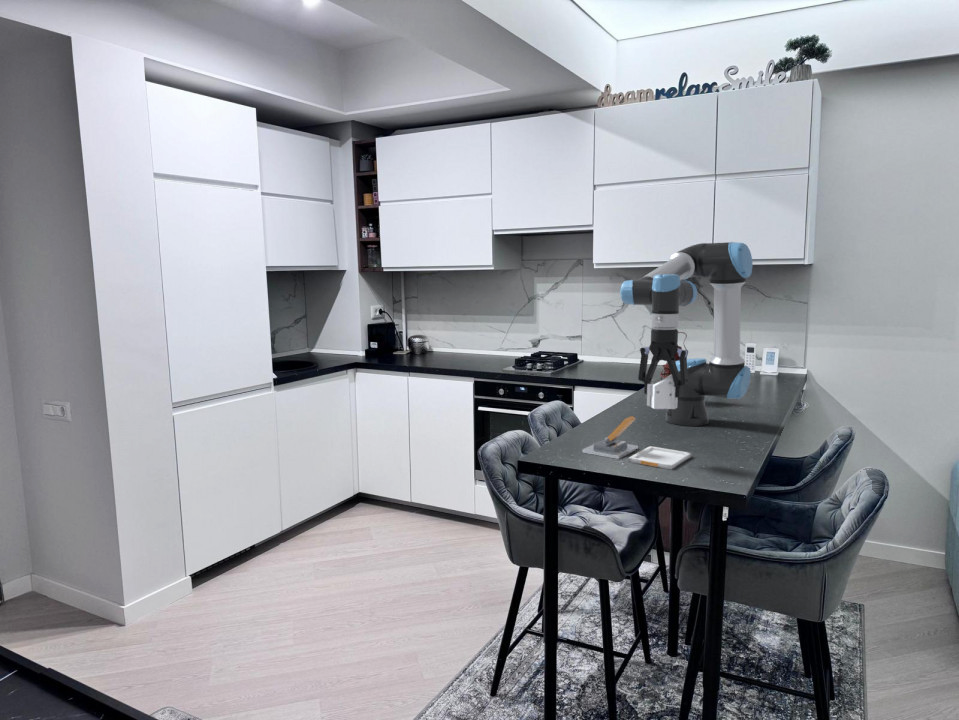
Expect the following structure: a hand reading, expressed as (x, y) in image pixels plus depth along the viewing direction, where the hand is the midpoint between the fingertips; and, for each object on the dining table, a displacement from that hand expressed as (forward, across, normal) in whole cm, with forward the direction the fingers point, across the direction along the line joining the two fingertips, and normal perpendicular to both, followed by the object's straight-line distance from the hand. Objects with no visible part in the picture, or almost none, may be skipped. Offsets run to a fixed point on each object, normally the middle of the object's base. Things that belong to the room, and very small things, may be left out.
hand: (661, 406), depth 195 cm
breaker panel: (+16, -16, 0) cm, 23 cm away
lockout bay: (+16, 0, 0) cm, 16 cm away
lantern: (+16, -27, +83) cm, 89 cm away
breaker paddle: (+12, -16, 0) cm, 20 cm away
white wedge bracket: (+1, 0, 0) cm, 1 cm away
